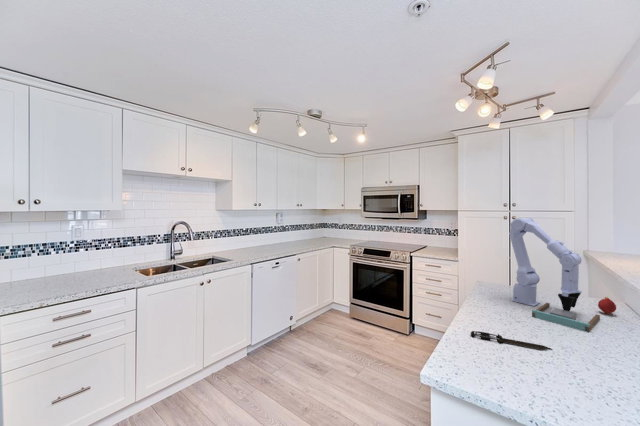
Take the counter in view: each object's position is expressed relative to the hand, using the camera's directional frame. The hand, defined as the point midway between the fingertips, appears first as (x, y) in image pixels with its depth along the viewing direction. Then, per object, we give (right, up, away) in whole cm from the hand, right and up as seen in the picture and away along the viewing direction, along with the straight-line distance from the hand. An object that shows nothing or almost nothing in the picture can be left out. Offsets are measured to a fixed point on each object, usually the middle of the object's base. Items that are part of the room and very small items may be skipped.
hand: (569, 308), depth 126 cm
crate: (-9, -4, -6) cm, 11 cm away
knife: (-44, -5, -24) cm, 50 cm away
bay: (-4, -3, -3) cm, 6 cm away
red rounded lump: (+18, -3, +1) cm, 18 cm away
